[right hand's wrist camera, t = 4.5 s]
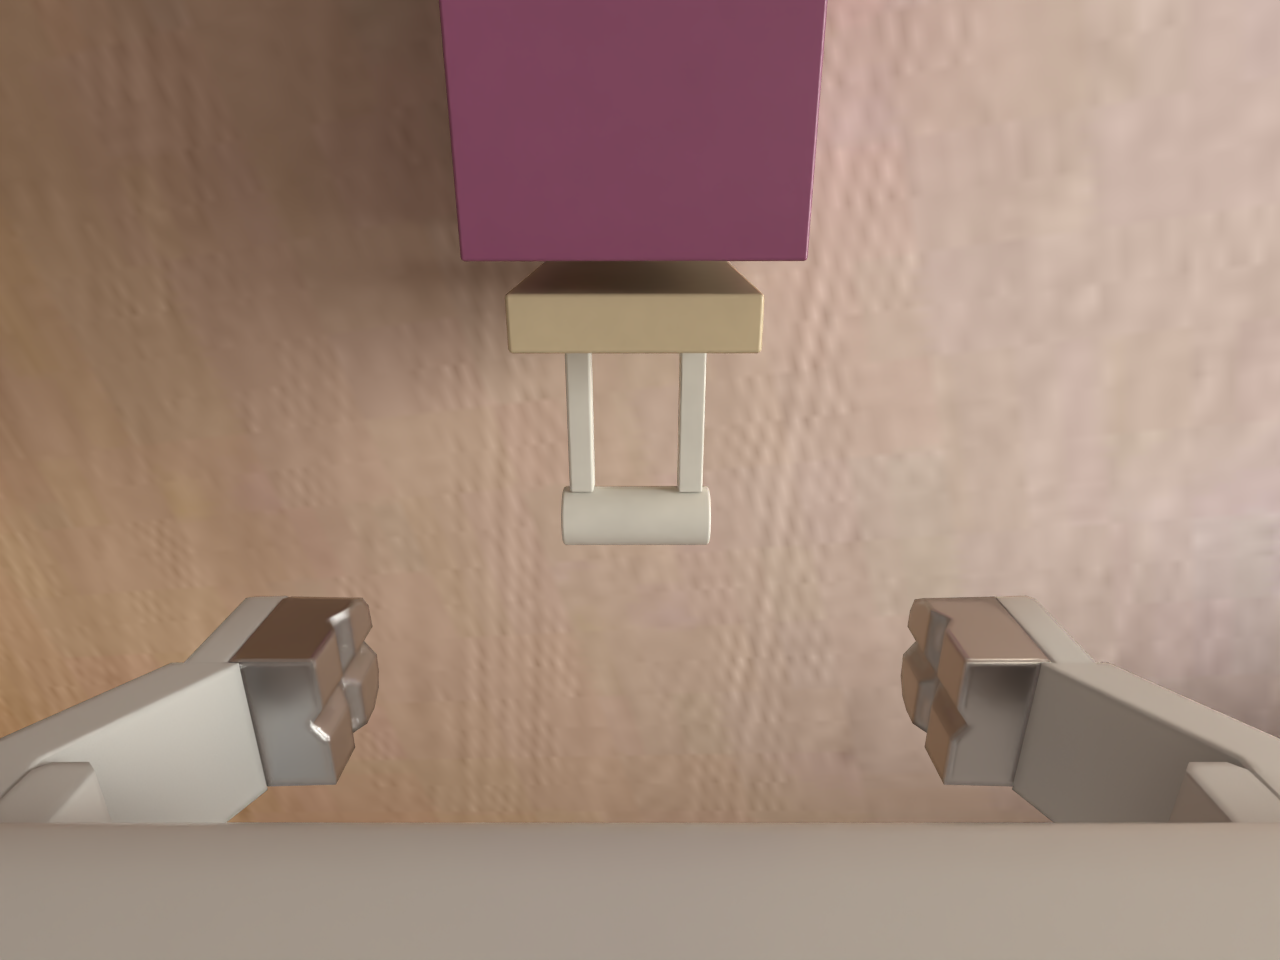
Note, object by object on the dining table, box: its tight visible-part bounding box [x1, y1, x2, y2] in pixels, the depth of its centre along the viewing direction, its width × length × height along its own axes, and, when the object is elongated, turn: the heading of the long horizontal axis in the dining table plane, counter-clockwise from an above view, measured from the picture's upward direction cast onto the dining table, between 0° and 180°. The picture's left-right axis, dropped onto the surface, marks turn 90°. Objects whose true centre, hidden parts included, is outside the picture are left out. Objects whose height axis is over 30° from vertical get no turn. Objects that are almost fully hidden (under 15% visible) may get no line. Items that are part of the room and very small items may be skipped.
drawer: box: [505, 261, 764, 545], centre depth 17 cm, size 23×5×8 cm, turn 0°
